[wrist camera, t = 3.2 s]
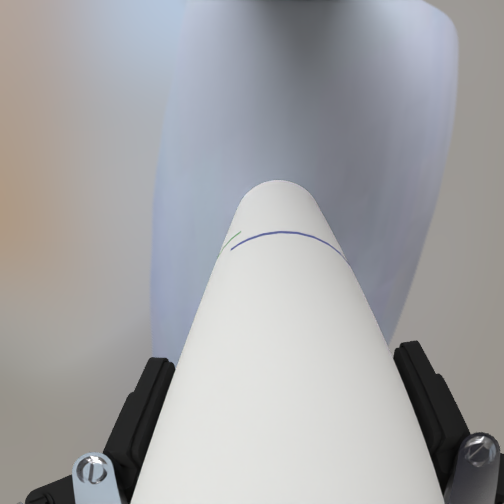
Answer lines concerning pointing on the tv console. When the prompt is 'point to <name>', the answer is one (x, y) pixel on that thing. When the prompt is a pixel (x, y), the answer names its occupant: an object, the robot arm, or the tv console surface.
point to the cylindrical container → (285, 378)
